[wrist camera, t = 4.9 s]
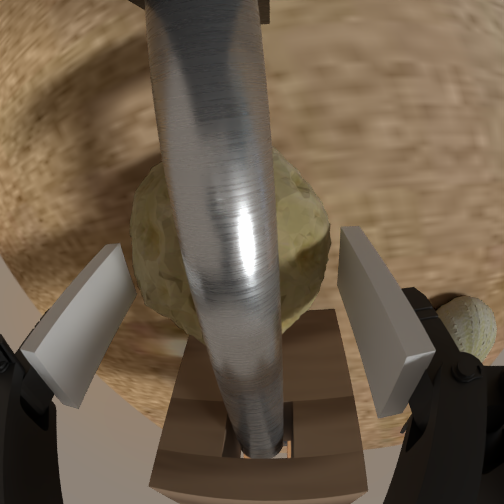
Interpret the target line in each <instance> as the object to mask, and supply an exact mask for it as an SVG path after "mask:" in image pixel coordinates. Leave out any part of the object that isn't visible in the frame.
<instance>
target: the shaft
mask: <svg viewBox="0 0 504 504" xmlns="http://www.w3.org/2000/svg"><path fill="white" fill-rule="evenodd" d="M128 1H130V2H132V3H134V4H135V5H137V6H139V7H141V8H142V9H144V10H145V15H146V32H147V45H148V57H149V67H150V77H151V85H152V94H153V102H154V109H155V117H156V124H157V130H158V137H159V143H160V149H161V155H162V161H163V167H164V173H165V178H166V183H167V189H168V194H169V199H170V204H171V209H172V214H173V218H174V223H175V228H176V232H177V237H178V241H179V246H180V250H181V254H182V258H183V263H184V267H185V271H186V275H187V279H188V283H189V287H190V291H191V294H192V298H193V302H194V306H195V309H196V313H197V317H198V320H199V324H200V327H201V331H202V334H203V338H204V341H205V344H206V348H207V351H208V354H209V358H210V361H211V364H212V367H213V370H214V374H215V377H216V380H217V383H218V386H219V389H220V392H221V395H222V398H223V401H224V404H225V407H226V410H227V412H228V415H229V418H230V421H231V424H232V426H233V429H234V432H235V435H236V437H237V440H238V443H239V445H240V448H241V450H242V452H243V453H244V454H245V455H246V456H248V457H249V458H255V459H270V458H273V457H274V456H276V455H277V454H278V453H279V452H280V451H281V449H282V447H283V361H282V325H281V297H280V273H279V252H278V233H277V216H276V199H275V184H274V169H273V155H272V142H271V129H270V117H269V105H268V94H267V83H266V73H265V63H264V53H263V43H262V34H261V25H260V24H270V5H269V0H128Z"/></svg>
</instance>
